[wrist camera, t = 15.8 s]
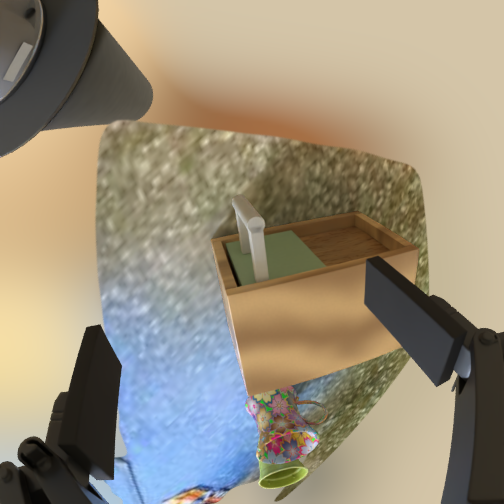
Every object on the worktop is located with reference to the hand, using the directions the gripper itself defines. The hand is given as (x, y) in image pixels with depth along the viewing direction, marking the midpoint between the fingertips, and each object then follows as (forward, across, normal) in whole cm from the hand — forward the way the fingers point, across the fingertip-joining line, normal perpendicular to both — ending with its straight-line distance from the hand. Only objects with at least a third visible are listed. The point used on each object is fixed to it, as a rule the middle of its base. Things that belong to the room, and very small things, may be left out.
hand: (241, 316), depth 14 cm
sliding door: (+19, +5, -2) cm, 20 cm away
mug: (+20, +4, -32) cm, 38 cm away
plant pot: (+20, +2, -49) cm, 53 cm away
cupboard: (+20, +9, -11) cm, 25 cm away
